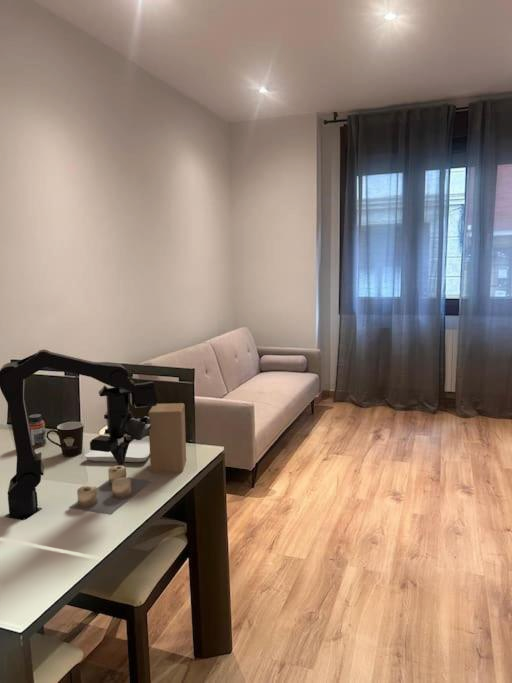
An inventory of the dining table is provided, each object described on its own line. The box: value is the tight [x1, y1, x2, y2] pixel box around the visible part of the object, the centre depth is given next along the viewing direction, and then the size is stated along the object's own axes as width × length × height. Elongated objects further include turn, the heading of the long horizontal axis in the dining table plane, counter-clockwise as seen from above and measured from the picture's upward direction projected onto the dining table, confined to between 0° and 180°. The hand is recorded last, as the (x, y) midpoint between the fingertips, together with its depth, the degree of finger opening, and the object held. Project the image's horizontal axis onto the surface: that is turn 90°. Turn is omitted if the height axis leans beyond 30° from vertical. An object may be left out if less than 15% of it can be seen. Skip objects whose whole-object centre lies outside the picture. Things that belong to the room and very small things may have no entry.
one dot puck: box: [76, 484, 98, 508], centre depth 130 cm, size 5×5×4 cm
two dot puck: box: [107, 465, 127, 485], centre depth 143 cm, size 5×5×4 cm
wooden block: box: [147, 402, 187, 474], centre depth 154 cm, size 10×10×20 cm
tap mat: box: [68, 477, 153, 516], centre depth 136 cm, size 21×13×1 cm, turn 162°
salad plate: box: [84, 435, 150, 463], centre depth 167 cm, size 21×21×3 cm
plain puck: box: [112, 477, 131, 499], centre depth 135 cm, size 5×5×4 cm
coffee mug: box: [45, 421, 85, 458], centre depth 168 cm, size 12×9×10 cm
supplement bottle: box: [28, 413, 47, 449], centre depth 176 cm, size 6×6×11 cm
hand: (121, 464), depth 134 cm, fingers closed
